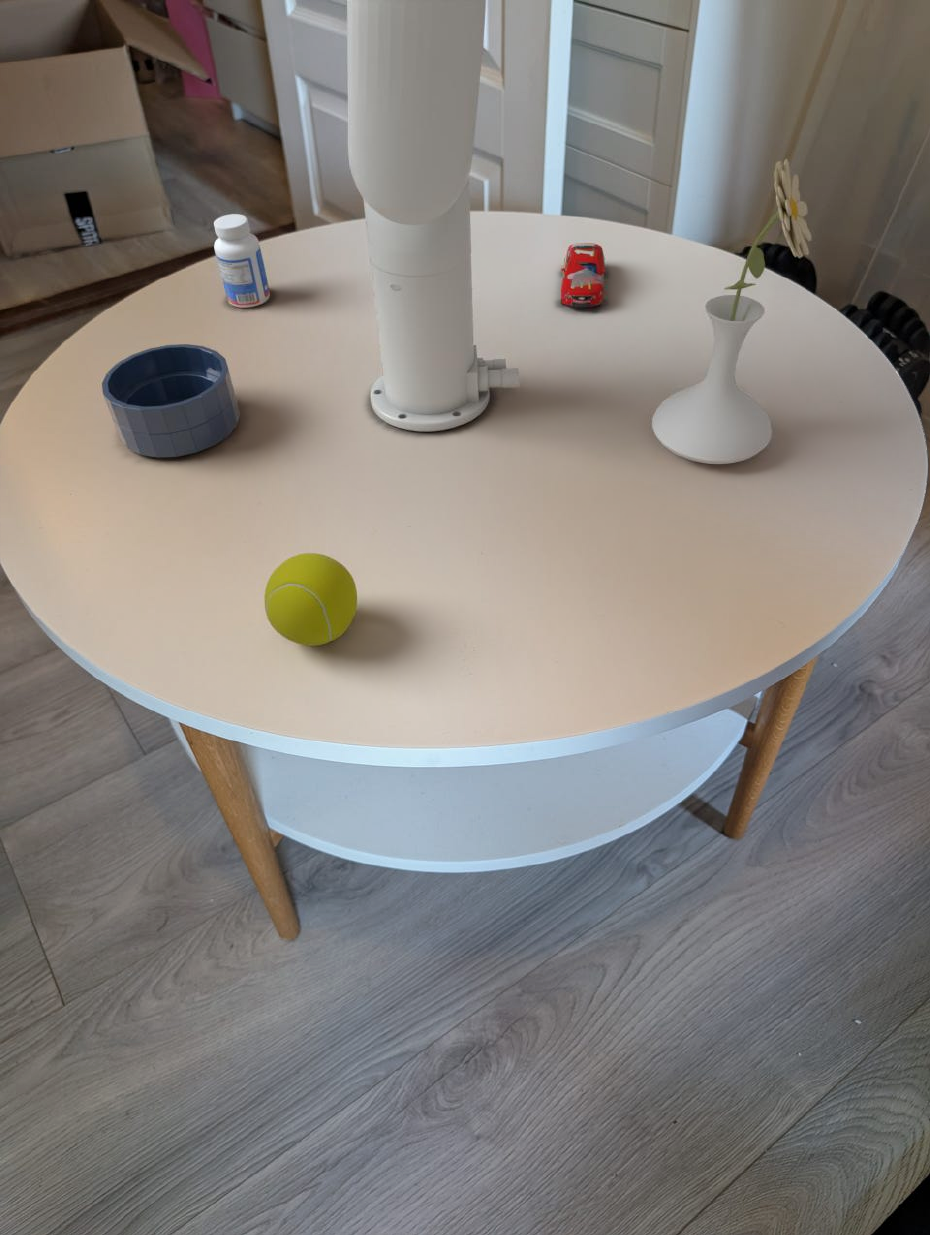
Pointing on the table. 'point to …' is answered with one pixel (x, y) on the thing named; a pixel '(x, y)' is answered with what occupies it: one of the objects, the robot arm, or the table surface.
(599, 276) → the race car
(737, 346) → the flower in vase
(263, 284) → the pill bottle
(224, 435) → the blue round bowl
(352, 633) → the table surface
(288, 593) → the tennis ball
